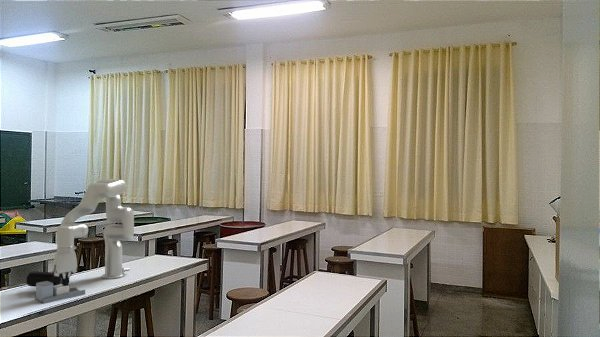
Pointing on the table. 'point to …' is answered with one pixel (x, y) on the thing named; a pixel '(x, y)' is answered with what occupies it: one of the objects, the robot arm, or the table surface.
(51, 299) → the gray flat slab
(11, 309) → the table surface
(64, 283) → the robot arm
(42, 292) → the mounted module
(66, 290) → the block
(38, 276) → the security camera
